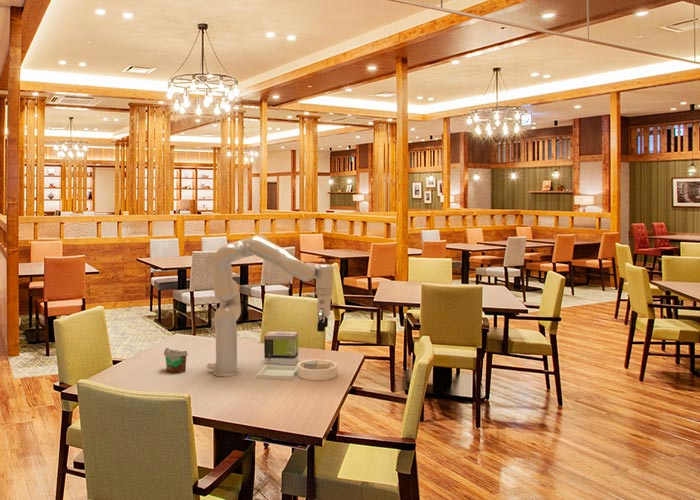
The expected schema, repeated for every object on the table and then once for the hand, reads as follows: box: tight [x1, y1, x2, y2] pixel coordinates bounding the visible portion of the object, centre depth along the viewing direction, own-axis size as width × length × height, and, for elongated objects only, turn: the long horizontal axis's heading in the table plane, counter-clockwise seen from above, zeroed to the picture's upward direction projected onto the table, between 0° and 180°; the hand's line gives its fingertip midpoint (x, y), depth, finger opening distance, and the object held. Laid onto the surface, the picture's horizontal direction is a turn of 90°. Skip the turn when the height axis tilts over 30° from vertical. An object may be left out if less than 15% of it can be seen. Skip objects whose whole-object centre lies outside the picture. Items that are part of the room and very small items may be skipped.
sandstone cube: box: [317, 361, 330, 370], centre depth 278 cm, size 5×5×5 cm
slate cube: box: [304, 361, 317, 370], centre depth 279 cm, size 5×5×5 cm
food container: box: [163, 347, 188, 374], centre depth 281 cm, size 12×6×10 cm, turn 62°
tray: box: [256, 364, 297, 381], centre depth 278 cm, size 16×16×2 cm
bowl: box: [296, 358, 338, 381], centre depth 278 cm, size 18×18×5 cm
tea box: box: [263, 331, 299, 366], centre depth 298 cm, size 15×10×15 cm, turn 84°
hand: (322, 328), depth 277 cm, fingers open, 9 cm apart
